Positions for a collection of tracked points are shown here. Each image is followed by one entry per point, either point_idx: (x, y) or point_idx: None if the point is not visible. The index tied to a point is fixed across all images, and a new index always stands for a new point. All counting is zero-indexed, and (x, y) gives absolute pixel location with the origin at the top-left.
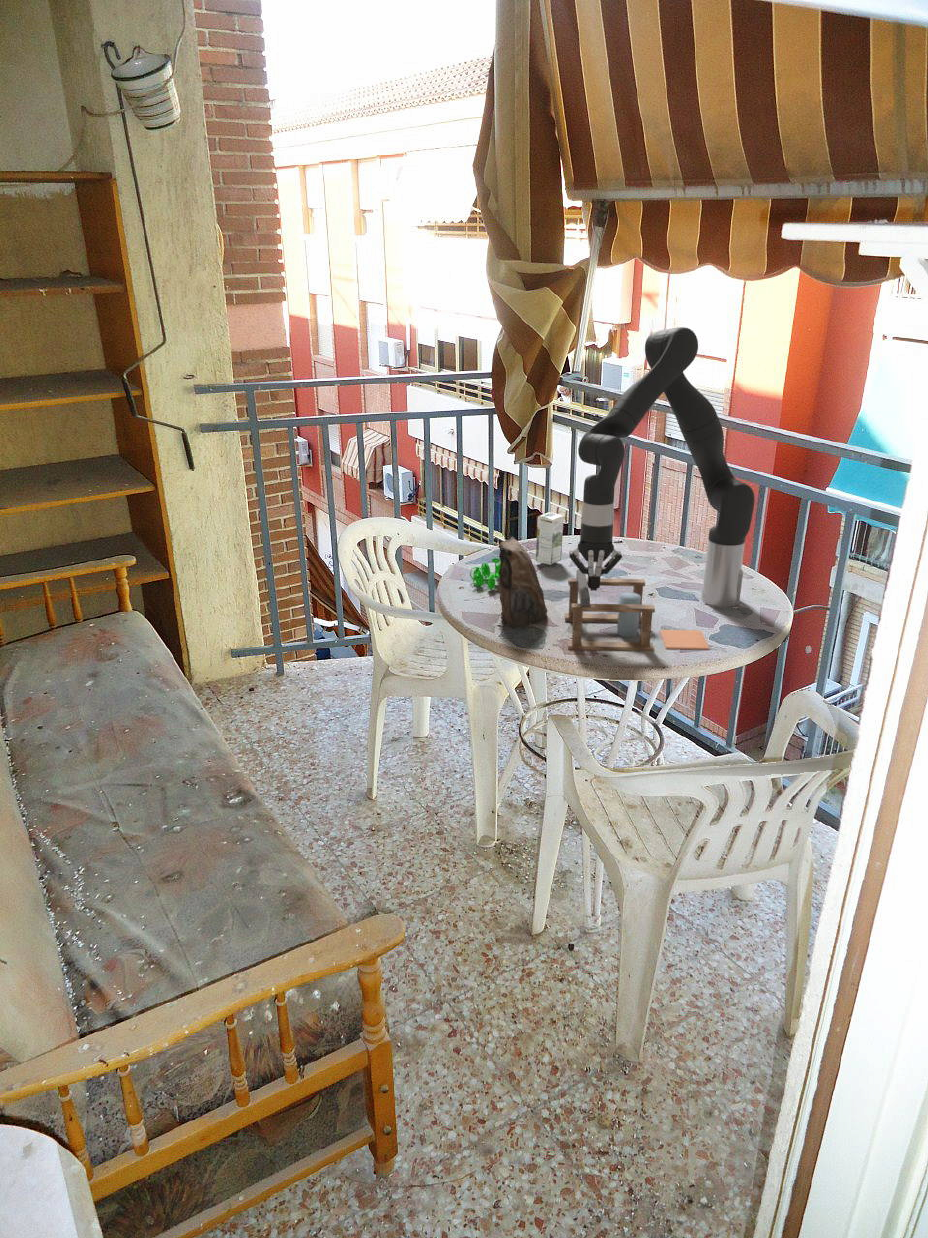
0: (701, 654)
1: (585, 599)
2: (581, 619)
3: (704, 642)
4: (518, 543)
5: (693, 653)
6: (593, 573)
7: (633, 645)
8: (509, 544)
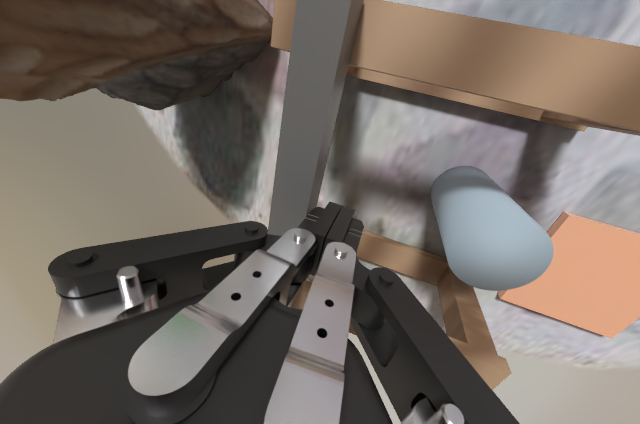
0: (568, 334)
1: None
2: None
3: (631, 315)
4: None
5: (552, 324)
6: (301, 287)
7: (424, 272)
8: None
